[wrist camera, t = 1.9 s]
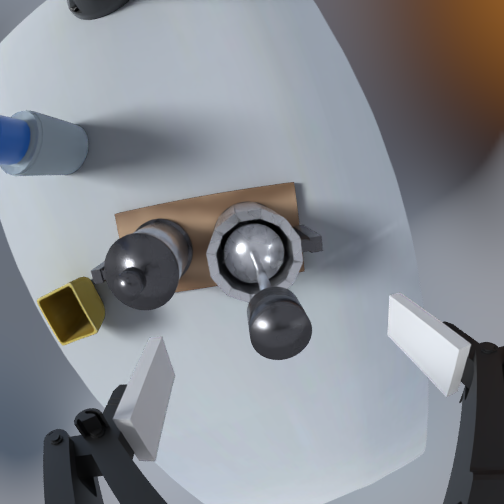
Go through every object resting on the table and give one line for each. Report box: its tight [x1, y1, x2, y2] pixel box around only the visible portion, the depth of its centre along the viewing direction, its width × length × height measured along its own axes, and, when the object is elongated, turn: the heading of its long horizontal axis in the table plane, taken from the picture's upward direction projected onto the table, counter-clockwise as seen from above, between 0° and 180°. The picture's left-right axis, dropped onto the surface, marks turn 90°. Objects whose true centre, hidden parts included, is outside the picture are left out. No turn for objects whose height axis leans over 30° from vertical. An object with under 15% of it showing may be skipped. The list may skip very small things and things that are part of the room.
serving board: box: [115, 182, 304, 292], centre depth 44 cm, size 14×28×2 cm, turn 99°
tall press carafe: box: [206, 201, 323, 303], centre depth 38 cm, size 10×13×13 cm
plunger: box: [224, 223, 312, 360], centre depth 25 cm, size 7×7×19 cm
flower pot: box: [37, 277, 105, 345], centre depth 41 cm, size 9×9×9 cm
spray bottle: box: [0, 110, 88, 176], centre depth 27 cm, size 9×9×25 cm
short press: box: [91, 218, 193, 310], centre depth 35 cm, size 10×13×16 cm
